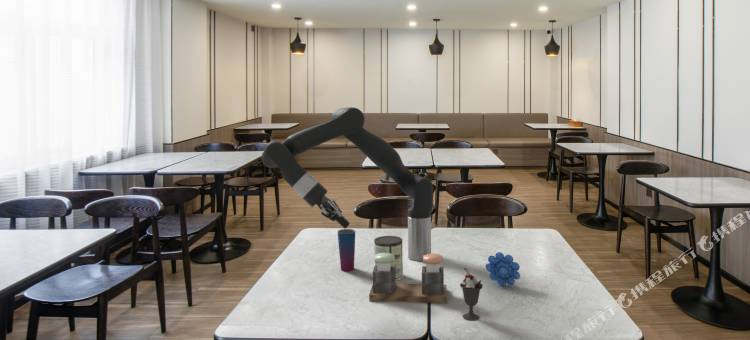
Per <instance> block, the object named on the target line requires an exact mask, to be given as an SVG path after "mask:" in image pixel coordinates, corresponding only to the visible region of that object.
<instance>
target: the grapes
mask: <svg viewBox="0 0 750 340" xmlns="http://www.w3.org/2000/svg"><path fill="white" fill-rule="evenodd" d="M494 255H495V256H494ZM494 255H493V254H492V255H488V259H487V261H488V263H486V265H485V269H486V271H487V272H489V275H488V276H489V279H490V280H491V281H494V282H495V281H497V284H498V285H499V286H502V287H504V286H506V285H508V286H514V285H515V283H516V281H515V280H520V277H521V274H520V272H519V270H520V264H519V263H518V262H516V261H514V257H513V256H512V255H511V254H506V255H505V254H504V253H503V252H501V251H498V252H496V253H495V254H494Z"/></svg>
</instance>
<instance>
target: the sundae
mask: <svg viewBox="0 0 750 340" xmlns="http://www.w3.org/2000/svg"><path fill="white" fill-rule="evenodd" d="M463 270H465V272H466V275H464V278H463V280H462V281H461V283H460V284H459V285H460V288H461V289H462V294H463V296H462V297H463V300H464V303H465V304H466V305H467V306H468V309H469V310H468V312H467V313H463V315H462V318H463V319H464V320H466V321H471V322H472V321H477V320H479V319H480V315H478V314H477V313H475V312H474V307H475V306H476V305H477V304H478V303H479V298H480V291H481V289H483V284H482V280H481V279H480V280H479V281H478V278H477V277H475V276H474V275H472V274H470V272H469V271H468V269H467V268H466V267H464V268H463Z"/></svg>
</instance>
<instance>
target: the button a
mask: <svg viewBox="0 0 750 340" xmlns="http://www.w3.org/2000/svg"><path fill="white" fill-rule="evenodd" d="M393 261H394V255H393V254H390V253H378V254H376V255H375V254H374V263H375V262H377V271H385V272H391V262H393Z"/></svg>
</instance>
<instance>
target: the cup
mask: <svg viewBox="0 0 750 340" xmlns="http://www.w3.org/2000/svg"><path fill="white" fill-rule="evenodd" d="M337 240H338V252H339V261H340V262H339V263H340V271H343V272H351V271H354V269H355V252H356V230H355V229H352V228H342V229H339V230H337Z"/></svg>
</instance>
